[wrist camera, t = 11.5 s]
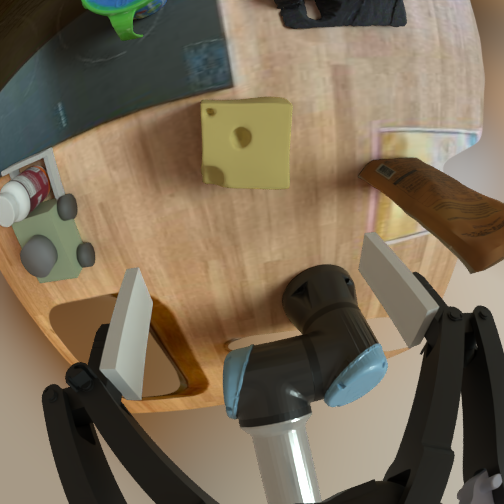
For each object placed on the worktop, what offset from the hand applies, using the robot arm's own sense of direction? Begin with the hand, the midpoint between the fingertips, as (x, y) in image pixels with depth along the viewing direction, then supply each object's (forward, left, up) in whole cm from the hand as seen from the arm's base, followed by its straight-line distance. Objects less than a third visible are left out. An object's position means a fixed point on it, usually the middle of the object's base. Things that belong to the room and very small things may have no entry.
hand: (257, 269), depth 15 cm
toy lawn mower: (-3, +31, -27) cm, 41 cm away
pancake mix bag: (-4, -29, -27) cm, 40 cm away
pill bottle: (+3, +31, -27) cm, 41 cm away
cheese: (+3, -2, -27) cm, 27 cm away
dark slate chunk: (+26, -19, -27) cm, 43 cm away
